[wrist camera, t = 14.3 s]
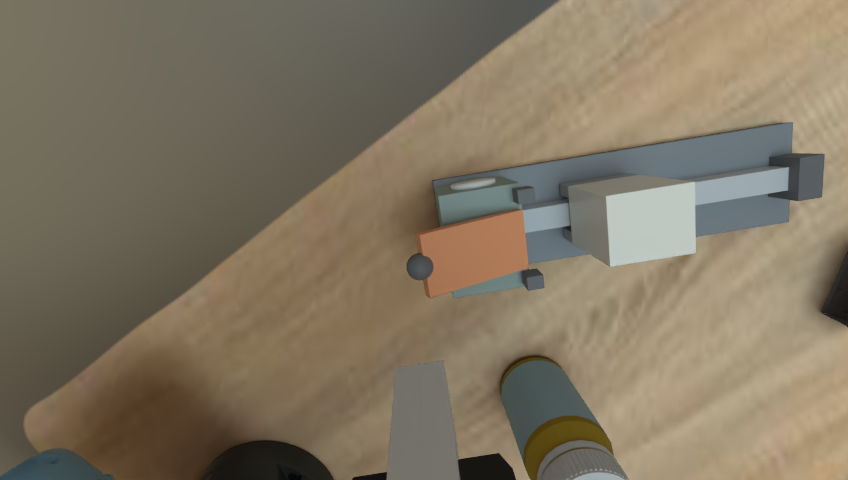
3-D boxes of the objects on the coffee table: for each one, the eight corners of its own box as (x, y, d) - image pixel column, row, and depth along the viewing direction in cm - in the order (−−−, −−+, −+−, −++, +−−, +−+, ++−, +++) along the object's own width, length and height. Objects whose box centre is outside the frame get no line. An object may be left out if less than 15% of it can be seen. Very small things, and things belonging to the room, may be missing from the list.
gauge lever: (518, 264, 31) (408, 297, 28) (512, 208, 30) (397, 235, 27) (533, 269, 30) (418, 304, 27) (526, 210, 29) (406, 240, 26)
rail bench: (446, 272, 39) (456, 312, 30) (432, 180, 37) (438, 191, 28) (777, 219, 39) (891, 242, 30) (780, 123, 37) (904, 115, 28)
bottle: (513, 345, 41) (568, 454, 27) (576, 365, 42) (663, 482, 27) (488, 403, 43) (527, 537, 28) (550, 421, 43) (618, 561, 29)
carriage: (564, 238, 37) (610, 266, 29) (559, 184, 36) (605, 196, 27) (629, 227, 37) (695, 253, 28) (626, 173, 36) (695, 181, 27)
